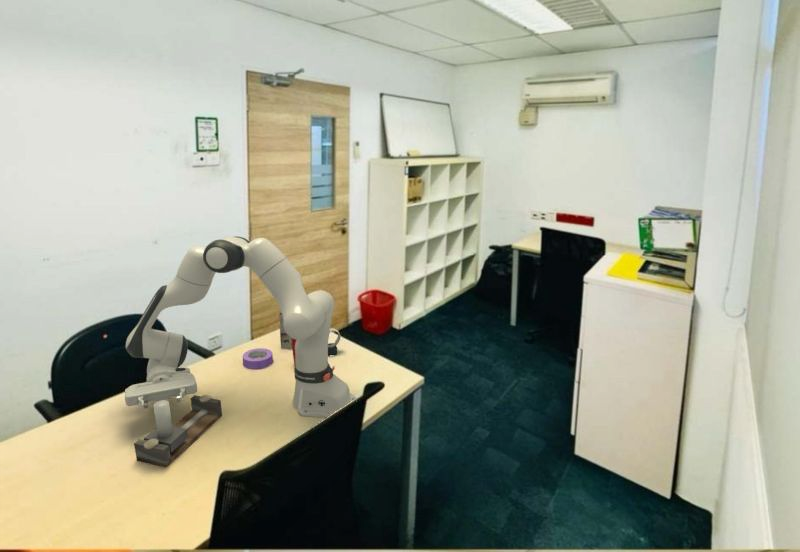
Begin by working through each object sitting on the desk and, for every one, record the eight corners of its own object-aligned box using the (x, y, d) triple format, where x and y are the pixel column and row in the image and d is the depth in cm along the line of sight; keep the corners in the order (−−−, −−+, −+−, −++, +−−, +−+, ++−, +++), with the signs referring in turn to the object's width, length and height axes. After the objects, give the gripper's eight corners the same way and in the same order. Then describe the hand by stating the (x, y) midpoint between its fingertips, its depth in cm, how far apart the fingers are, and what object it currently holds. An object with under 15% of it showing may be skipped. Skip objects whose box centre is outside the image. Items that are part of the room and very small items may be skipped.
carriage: (162, 432, 141) (156, 394, 137) (187, 437, 139) (183, 400, 135) (144, 446, 135) (138, 408, 131) (171, 452, 133) (165, 413, 129)
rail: (197, 409, 158) (195, 392, 156) (223, 414, 155) (221, 397, 153) (134, 462, 132) (131, 443, 130) (164, 469, 130) (161, 450, 128)
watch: (320, 350, 201) (320, 327, 198) (339, 348, 204) (338, 325, 200) (322, 356, 196) (322, 333, 193) (341, 354, 198) (341, 331, 195)
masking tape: (246, 356, 195) (245, 348, 194) (274, 355, 196) (274, 347, 195) (240, 370, 184) (239, 361, 182) (270, 369, 185) (269, 361, 184)
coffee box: (294, 349, 202) (293, 315, 197) (280, 348, 202) (278, 314, 197) (301, 340, 210) (299, 307, 205) (287, 339, 211) (285, 306, 206)
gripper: (123, 379, 147) (121, 401, 135) (194, 366, 156) (197, 387, 144) (126, 396, 149) (124, 420, 137) (195, 383, 158) (199, 404, 146)
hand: (162, 403), depth 140 cm, fingers open, 8 cm apart
